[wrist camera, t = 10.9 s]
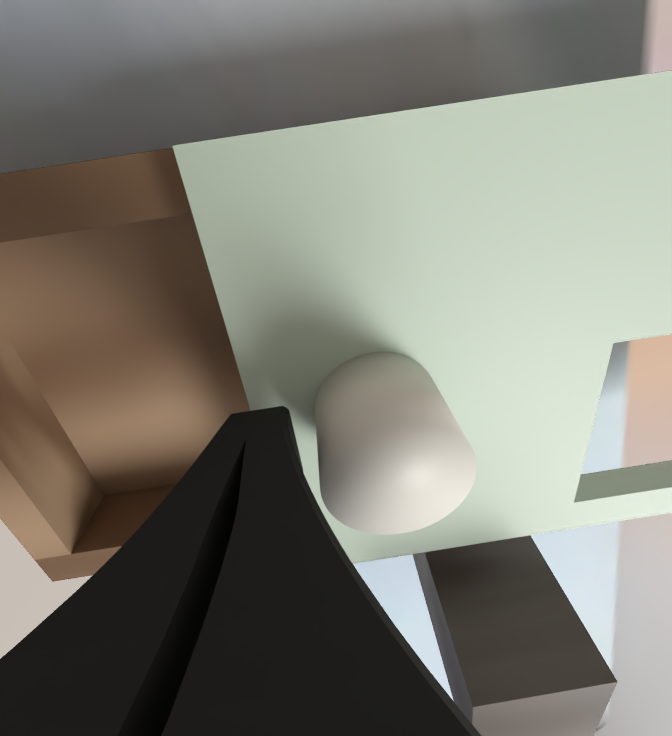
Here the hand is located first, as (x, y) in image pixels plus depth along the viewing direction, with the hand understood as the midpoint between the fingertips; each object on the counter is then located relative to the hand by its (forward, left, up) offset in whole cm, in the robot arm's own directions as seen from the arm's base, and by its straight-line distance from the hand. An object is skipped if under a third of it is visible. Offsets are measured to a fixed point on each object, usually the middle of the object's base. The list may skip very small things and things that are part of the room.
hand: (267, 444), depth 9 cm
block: (-10, -6, -5) cm, 13 cm away
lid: (0, -8, -2) cm, 8 cm away
